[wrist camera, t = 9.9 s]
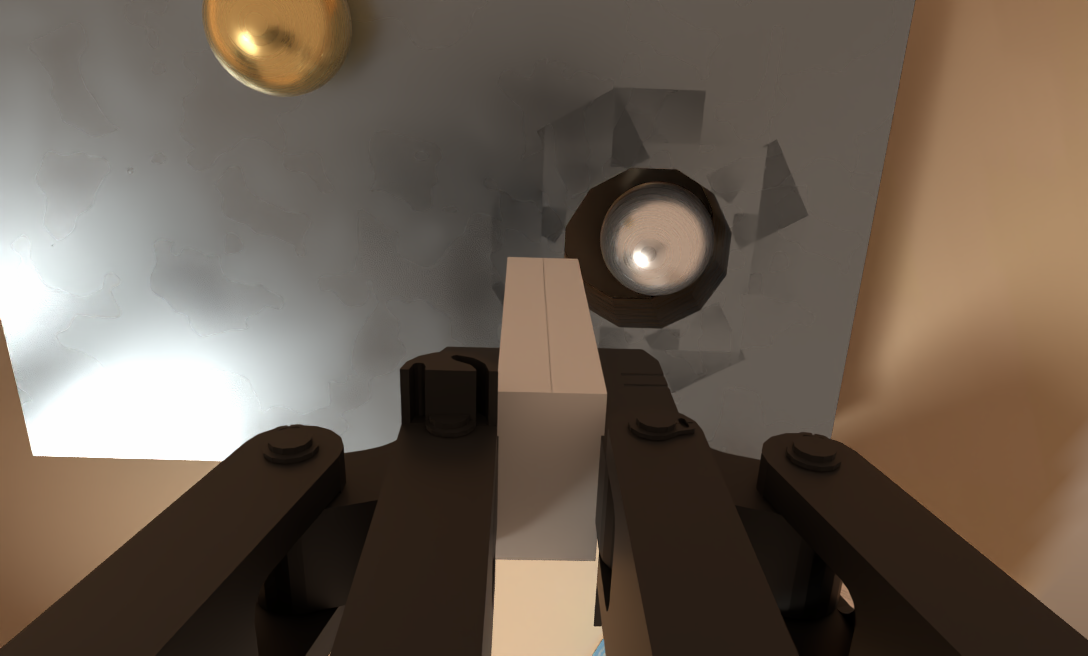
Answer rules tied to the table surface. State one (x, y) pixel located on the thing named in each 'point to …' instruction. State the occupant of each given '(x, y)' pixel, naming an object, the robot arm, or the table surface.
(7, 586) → the table surface
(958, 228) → the table surface
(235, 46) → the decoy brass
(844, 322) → the deck
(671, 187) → the ball
